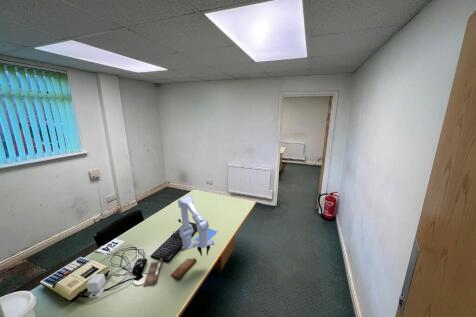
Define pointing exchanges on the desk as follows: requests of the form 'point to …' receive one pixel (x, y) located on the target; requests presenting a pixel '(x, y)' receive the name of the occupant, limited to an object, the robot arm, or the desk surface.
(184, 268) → the sunglasses case
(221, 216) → the desk surface
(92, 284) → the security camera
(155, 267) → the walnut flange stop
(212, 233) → the tablet computer
